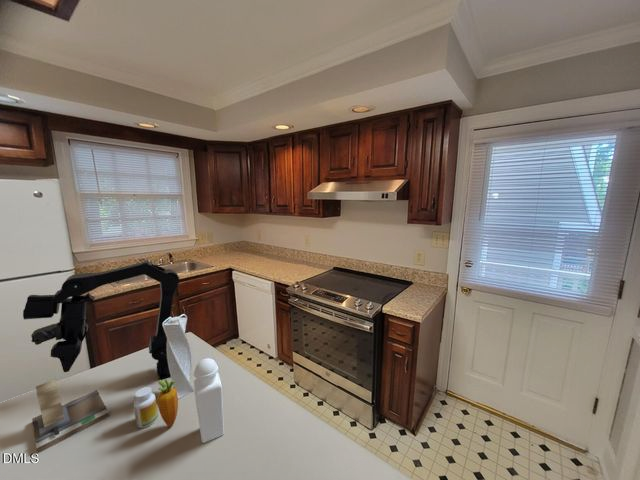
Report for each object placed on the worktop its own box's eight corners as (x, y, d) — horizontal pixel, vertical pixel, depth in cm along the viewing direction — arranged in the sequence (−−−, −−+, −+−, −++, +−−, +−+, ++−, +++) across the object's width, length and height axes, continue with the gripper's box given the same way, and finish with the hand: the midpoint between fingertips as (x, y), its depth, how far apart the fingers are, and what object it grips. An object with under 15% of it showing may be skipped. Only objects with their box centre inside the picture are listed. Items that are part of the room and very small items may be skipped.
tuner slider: (66, 408, 81) (59, 374, 79) (72, 429, 74) (65, 391, 72) (37, 421, 77) (29, 385, 75) (41, 444, 69) (33, 405, 68)
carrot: (184, 421, 78) (179, 375, 75) (170, 436, 73) (164, 387, 71) (171, 417, 79) (166, 372, 77) (156, 431, 75) (150, 383, 72)
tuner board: (97, 394, 90) (96, 388, 90) (109, 416, 80) (108, 410, 80) (33, 423, 78) (31, 416, 78) (37, 453, 69) (36, 446, 69)
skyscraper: (199, 391, 90) (191, 313, 86) (176, 403, 85) (166, 321, 80) (190, 380, 96) (182, 307, 91) (167, 391, 90) (157, 314, 86)
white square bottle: (200, 446, 70) (192, 370, 67) (198, 427, 76) (191, 357, 72) (226, 435, 73) (219, 362, 70) (222, 418, 79) (216, 350, 75)
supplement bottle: (162, 414, 81) (158, 385, 79) (149, 429, 76) (145, 399, 74) (145, 413, 81) (141, 384, 80) (132, 428, 76) (127, 398, 75)
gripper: (44, 307, 85) (40, 354, 86) (25, 330, 70) (21, 387, 71) (90, 305, 92) (86, 349, 92) (82, 326, 76) (77, 377, 77)
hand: (69, 364), depth 83 cm, fingers open, 9 cm apart
